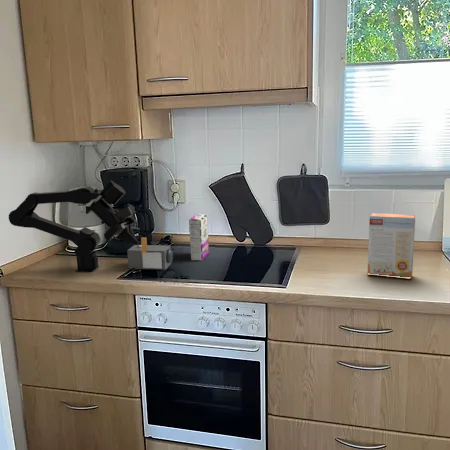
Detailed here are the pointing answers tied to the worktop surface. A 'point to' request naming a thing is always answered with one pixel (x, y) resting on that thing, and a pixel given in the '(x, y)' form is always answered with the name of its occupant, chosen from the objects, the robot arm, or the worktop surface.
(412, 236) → the cracker box
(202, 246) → the candy bar box
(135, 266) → the grey box with panel
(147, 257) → the side door
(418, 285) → the worktop surface
